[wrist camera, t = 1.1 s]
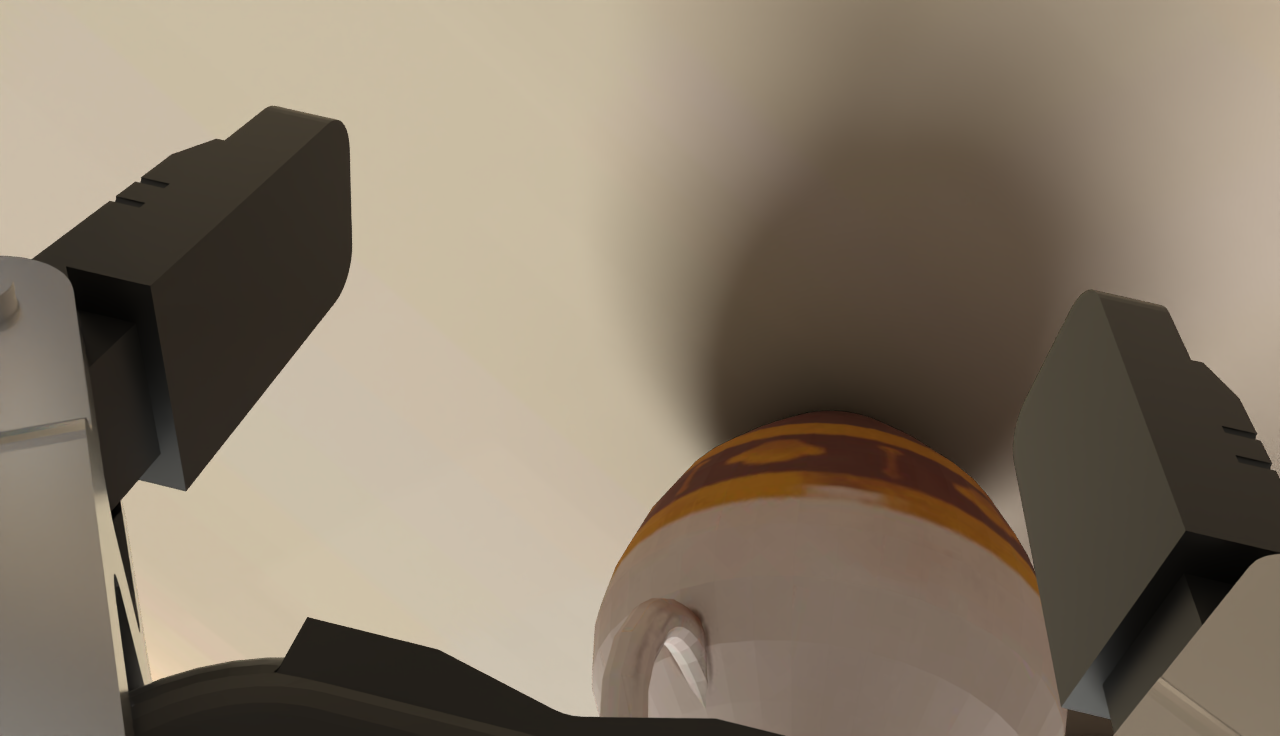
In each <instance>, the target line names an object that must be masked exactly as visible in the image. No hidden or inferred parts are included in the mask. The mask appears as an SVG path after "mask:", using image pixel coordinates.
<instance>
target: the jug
mask: <svg viewBox="0 0 1280 736" xmlns="http://www.w3.org/2000/svg"><path fill="white" fill-rule="evenodd" d="M592 690H593V694H594V698H595V702H596V706H597V710H598V713H599V716H600V717H639V718H716V719H720V720H724V721H728V722H732V723H736V724H740V725H744V726H748V727H752V728H757V729H761V730H765V731H769V732H773V733H777V734H781V735H785V736H1065V730H1066V720H1067V710H1068V709H1065V708H1061V704H1060V699H1059V694H1058V689H1057V683H1056V678H1055V673H1054V668H1053V663H1052V657H1051V652H1050V647H1049V642H1048V636H1047V631H1046V626H1045V621H1044V616H1043V610H1042V605H1041V600H1040V595H1039V589H1038V584H1037V579H1036V574H1035V571H1034V568H1033V566H1032V564H1031V562H1030V560H1029V557H1028V555H1027V554H1026V552H1025V550H1024V548H1023V547H1022V545H1021V543H1020V542H1019V540H1018V538H1017V537H1016V535H1015V533H1014V532H1013V530H1012V529H1011V528H1010V526H1009V525H1008V523H1007V522H1006V520H1005V519H1004V518H1003V516H1002V515H1001V513H1000V512H999V510H998V509H997V508H996V506H995V505H994V503H993V502H992V501H991V499H990V498H989V496H988V495H987V494H986V493H985V492H984V491H983V489H982V488H981V487H980V486H979V485H978V484H977V483H976V482H975V480H974V479H973V478H972V477H970V476H969V475H968V474H967V473H965V472H964V471H963V470H962V469H960V468H959V467H958V466H957V465H955V464H954V463H953V462H951V461H950V460H948V459H947V458H945V457H944V456H942V455H941V454H939V453H937V452H936V451H934V450H933V449H931V448H930V447H928V446H927V445H925V444H923V443H922V442H920V441H918V440H917V439H915V438H913V437H912V436H910V435H908V434H906V433H904V432H902V431H900V430H898V429H895V428H893V427H891V426H889V425H887V424H885V423H882V422H880V421H878V420H875V419H873V418H870V417H867V416H863V415H860V414H856V413H850V412H844V411H817V412H810V413H805V414H800V415H797V416H793V417H789V418H786V419H782V420H779V421H776V422H773V423H770V424H767V425H763V426H761V427H758V428H756V429H754V430H752V431H749V432H747V433H745V434H742V435H740V436H738V437H736V438H734V439H732V440H730V441H728V442H726V443H724V444H721V445H719V446H717V447H715V448H714V449H712V450H711V451H709V452H708V453H707V454H705V455H704V456H702V457H701V458H700V459H698V460H697V461H696V462H695V463H694V464H693V465H692V466H691V467H690V468H689V469H688V470H687V471H686V472H685V473H684V474H683V475H682V476H681V478H680V479H679V480H678V481H677V482H676V483H675V484H674V485H673V486H672V487H671V488H670V489H669V490H668V491H667V492H666V494H665V495H664V496H663V497H662V498H661V499H660V500H659V501H658V502H657V503H656V504H655V505H654V506H653V508H652V509H651V511H650V512H649V514H648V515H647V517H646V519H645V520H644V522H643V523H642V525H641V527H640V528H639V530H638V531H637V533H636V534H635V536H634V538H633V539H632V541H631V542H630V544H629V545H628V547H627V549H626V550H625V552H624V554H623V555H622V557H621V559H620V560H619V562H618V564H617V565H616V567H615V570H614V573H613V575H612V578H611V580H610V583H609V585H608V588H607V591H606V593H605V596H604V598H603V601H602V604H601V606H600V610H599V613H598V617H597V620H596V624H595V634H594V651H593V667H592Z"/></svg>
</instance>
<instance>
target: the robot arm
mask: <svg viewBox="0 0 1280 736" xmlns="http://www.w3.org/2000/svg"><path fill="white" fill-rule="evenodd" d="M351 256H352V222H351V183H350V147H349V138H348V133H347V130H346V128H345V125H344V124H343V123H342V122H341V121H339V120H336V119H331V118H327V117H322V116H318V115H313V114H309V113H304V112H300V111H295V110H291V109H286V108H282V107H277V106H269V107H267V108H265V109H264V110H263V111H261V112H260V113H259V114H258V115H256V116H255V117H254V118H253V119H251V120H250V121H249V122H247V123H246V124H245V125H244V126H242V127H241V128H240V129H239V130H237V131H236V132H235V133H234V134H232V135H231V136H230V137H228V138H227V139H226V140H225V141H224V140H220V139H214V140H212V141H209V142H206V143H203V144H200V145H197V146H194V147H192V148H189V149H186V150H183V151H180V152H177V153H174V154H172V155H170V156H169V157H168V158H166V159H165V160H164V161H162V162H161V163H160V164H158V165H157V166H156V167H154V168H153V169H152V170H150V171H149V172H148V173H146V174H145V175H144V176H142V177H141V182H140V183H139V182H134V183H133V184H132V185H130V186H129V187H128V188H126V189H125V190H124V191H122V192H121V193H120V194H118V195H117V196H116V201H115V202H112V201H109V202H108V203H106V204H105V205H104V206H102V207H101V208H100V209H98V210H97V211H96V212H94V213H93V214H92V215H90V216H89V217H88V218H86V219H85V220H84V221H82V222H81V223H80V224H78V225H77V226H76V227H74V228H73V229H72V230H70V231H69V232H68V233H66V234H65V235H63V236H62V237H61V238H59V239H58V240H57V241H55V242H54V243H53V244H51V245H50V246H49V247H47V248H46V249H45V250H43V251H42V252H41V253H39V254H38V255H37V256H35V257H34V258H33V259H27V258H22V257H12V256H0V736H785V735H781V734H777V733H773V732H769V731H765V730H761V729H757V728H752V727H748V726H744V725H740V724H736V723H732V722H728V721H724V720H720V719H716V718H639V717H579V716H571V715H567V714H563V713H561V712H558V711H556V710H554V709H552V708H550V707H548V706H546V705H544V704H542V703H540V702H538V701H536V700H534V699H532V698H531V697H529V696H527V695H525V694H523V693H521V692H519V691H517V690H515V689H513V688H511V687H509V686H507V685H506V684H504V683H502V682H500V681H498V680H496V679H494V678H492V677H490V676H488V675H486V674H484V673H482V672H481V671H479V670H477V669H475V668H473V667H471V666H469V665H467V664H465V663H463V662H461V661H459V660H457V659H456V658H454V657H452V656H450V655H448V654H446V653H444V652H442V651H440V650H438V649H434V648H430V647H426V646H422V645H418V644H414V643H410V642H406V641H401V640H397V639H393V638H389V637H385V636H381V635H377V634H373V633H369V632H365V631H361V630H357V629H353V628H349V627H345V626H341V625H337V624H333V623H329V622H325V621H321V620H317V619H313V618H309V617H307V619H306V621H305V622H304V624H303V626H302V628H301V629H300V631H299V633H298V635H297V637H296V638H295V640H294V642H293V644H292V645H291V647H290V649H289V651H288V653H287V654H286V656H285V658H259V659H248V660H238V661H230V662H225V663H220V664H215V665H210V666H205V667H200V668H196V669H192V670H189V671H185V672H182V673H179V674H175V675H172V676H169V677H165V678H162V679H159V680H157V681H154V682H152V678H151V673H150V667H149V661H148V655H147V649H146V642H145V636H144V630H143V623H142V617H141V611H140V604H139V598H138V591H137V585H136V579H135V572H134V566H133V560H132V553H131V547H130V541H129V534H128V528H127V521H126V516H125V512H124V508H123V503H122V498H123V497H124V496H125V495H126V494H127V493H128V491H129V490H130V489H131V488H132V487H133V486H134V484H135V483H136V482H137V481H138V480H142V481H146V482H150V483H154V484H158V485H162V486H166V487H170V488H174V489H179V490H183V491H187V489H188V488H189V487H190V486H191V484H192V483H193V482H194V481H195V479H196V478H197V477H198V476H199V474H200V473H201V472H202V470H203V469H204V468H205V467H206V465H207V464H208V463H209V462H210V460H211V459H212V458H213V457H214V455H215V454H216V453H217V451H218V450H219V449H220V448H221V446H222V445H223V444H224V443H225V441H226V440H227V439H228V438H229V436H230V435H231V434H232V432H233V431H234V430H235V429H236V427H237V426H238V425H239V424H240V422H241V421H242V420H243V419H244V417H245V416H246V415H247V413H248V412H249V411H250V410H251V408H252V407H253V406H254V405H255V403H256V402H257V401H258V400H259V398H260V397H261V396H262V394H263V393H264V392H265V391H266V389H267V388H268V387H269V386H270V384H271V383H272V382H273V381H274V379H275V378H276V377H277V375H278V374H279V373H280V372H281V370H282V369H283V368H284V367H285V365H286V364H287V363H288V362H289V360H290V359H291V358H292V356H293V355H294V354H295V353H296V351H297V350H298V349H299V348H300V346H301V345H302V344H303V342H304V341H305V340H306V339H307V337H308V336H309V335H310V334H311V332H312V331H313V330H314V329H315V327H316V326H317V325H318V323H319V322H320V321H321V320H322V318H323V317H324V316H325V315H326V313H327V312H328V311H329V310H330V308H331V307H332V306H333V304H334V303H335V302H336V300H337V299H338V298H339V296H340V294H341V292H342V290H343V288H344V285H345V282H346V280H347V276H348V273H349V268H350V263H351ZM1256 435H1257V433H1256V431H1255V429H1254V427H1253V425H1252V423H1251V421H1250V419H1249V417H1248V415H1247V413H1246V411H1245V409H1244V407H1243V405H1242V403H1241V401H1240V399H1239V398H1238V397H1237V396H1236V395H1235V394H1234V393H1233V392H1232V391H1231V390H1230V389H1229V388H1228V387H1227V386H1226V385H1225V384H1224V383H1223V382H1222V381H1221V380H1220V379H1219V378H1218V377H1217V376H1216V375H1215V374H1214V373H1213V372H1212V371H1211V370H1210V369H1209V368H1208V367H1207V366H1206V365H1205V364H1204V363H1202V362H1198V361H1193V360H1191V359H1190V357H1189V354H1188V352H1187V350H1186V348H1185V346H1184V344H1183V342H1182V339H1181V337H1180V335H1179V333H1178V331H1177V329H1176V326H1175V324H1174V322H1173V320H1172V318H1171V316H1170V314H1169V312H1168V310H1167V309H1166V308H1165V307H1164V306H1162V305H1158V304H1154V303H1149V302H1145V301H1140V300H1136V299H1131V298H1127V297H1122V296H1118V295H1113V294H1109V293H1104V292H1100V291H1095V290H1088V291H1086V292H1084V293H1083V294H1082V295H1081V296H1080V297H1079V298H1078V299H1077V300H1076V302H1075V303H1074V305H1073V306H1072V308H1071V310H1070V312H1069V314H1068V316H1067V318H1066V320H1065V322H1064V324H1063V326H1062V328H1061V330H1060V332H1059V334H1058V336H1057V338H1056V340H1055V342H1054V344H1053V346H1052V348H1051V350H1050V352H1049V354H1048V355H1047V357H1046V359H1045V361H1044V363H1043V365H1042V367H1041V369H1040V371H1039V373H1038V375H1037V377H1036V379H1035V381H1034V383H1033V385H1032V387H1031V389H1030V391H1029V393H1028V395H1027V397H1026V399H1025V401H1024V403H1023V406H1022V408H1021V411H1020V414H1019V417H1018V420H1017V424H1016V429H1015V434H1014V442H1013V458H1014V464H1015V469H1016V475H1017V480H1018V485H1019V490H1020V496H1021V501H1022V506H1023V511H1024V516H1025V522H1026V527H1027V532H1028V537H1029V542H1030V548H1031V553H1032V558H1033V563H1034V569H1035V574H1036V579H1037V584H1038V589H1039V595H1040V600H1041V605H1042V610H1043V616H1044V621H1045V626H1046V631H1047V636H1048V642H1049V647H1050V652H1051V657H1052V663H1053V668H1054V673H1055V678H1056V683H1057V689H1058V694H1059V699H1060V704H1061V708H1065V709H1070V710H1074V711H1078V712H1082V713H1086V714H1090V715H1094V716H1098V717H1102V718H1107V719H1111V723H1112V727H1113V732H1114V735H1113V736H1280V478H1279V476H1278V474H1277V472H1276V471H1274V470H1270V467H1271V464H1272V462H1271V460H1270V458H1269V456H1268V454H1267V452H1266V450H1265V448H1264V446H1263V444H1262V442H1261V441H1259V440H1255V438H1256Z"/></svg>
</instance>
